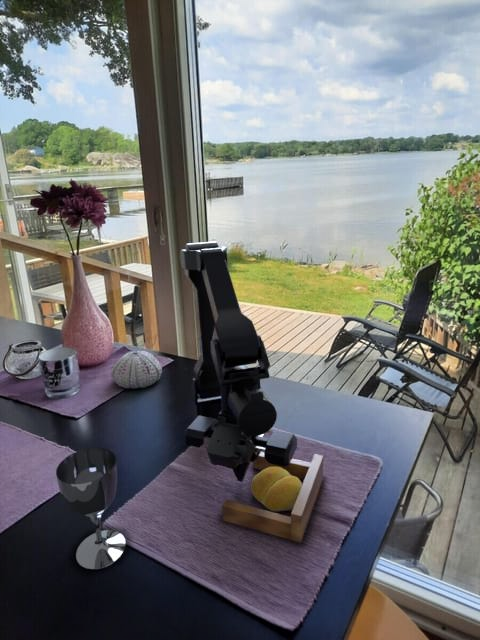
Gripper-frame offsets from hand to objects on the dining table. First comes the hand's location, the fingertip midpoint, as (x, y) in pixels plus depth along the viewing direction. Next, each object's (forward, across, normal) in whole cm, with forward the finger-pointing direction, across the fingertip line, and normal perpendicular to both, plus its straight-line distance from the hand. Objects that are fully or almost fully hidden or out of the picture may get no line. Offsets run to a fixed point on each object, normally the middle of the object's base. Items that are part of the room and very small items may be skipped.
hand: (241, 480), depth 78 cm
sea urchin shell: (+2, -41, +29) cm, 51 cm away
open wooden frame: (+1, +7, -1) cm, 7 cm away
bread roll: (+1, +7, 0) cm, 7 cm away
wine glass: (+1, -15, -20) cm, 25 cm away
